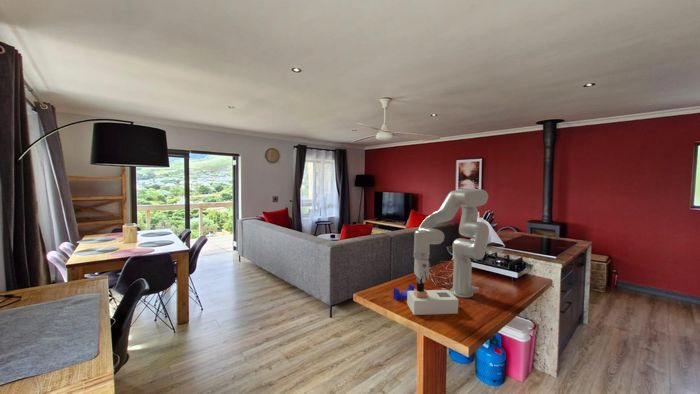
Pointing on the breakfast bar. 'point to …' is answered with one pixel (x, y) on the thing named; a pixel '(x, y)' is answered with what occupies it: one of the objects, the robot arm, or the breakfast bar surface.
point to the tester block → (432, 303)
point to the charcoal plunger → (443, 294)
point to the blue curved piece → (404, 294)
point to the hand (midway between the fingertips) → (420, 290)
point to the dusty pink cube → (420, 294)
